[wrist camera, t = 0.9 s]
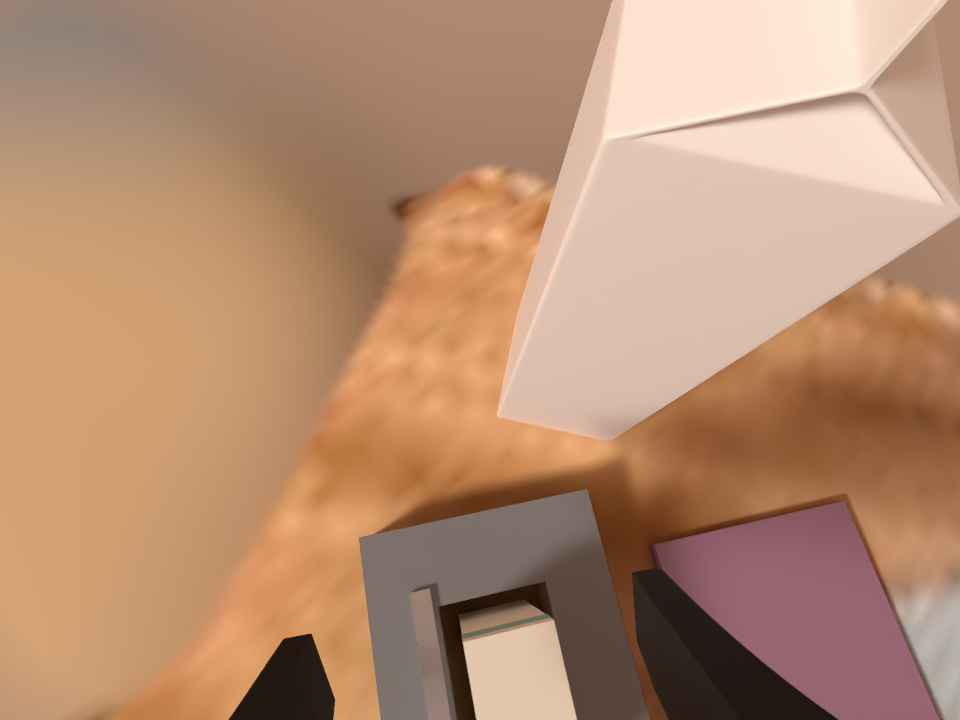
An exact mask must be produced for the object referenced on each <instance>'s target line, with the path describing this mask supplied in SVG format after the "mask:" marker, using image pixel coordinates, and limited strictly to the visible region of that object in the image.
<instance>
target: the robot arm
mask: <svg viewBox="0 0 960 720" xmlns="http://www.w3.org/2000/svg"><path fill="white" fill-rule="evenodd" d="M632 579H633V592H634V606H635V620H636V634H637V643H638V645H639V648H640V651H641V654H642V656H643V659H644V662H645V665H646V667H647V670H648V673H649V675H650V678H651V681H652V683H653V686H654V689H655V691H656V693H657V695H658V697H659V700H660V702H661V704H662V706H663V708H664V710H665V712H666V714H667V716H668V718H669V720H839V719H837V718H836V717H834V716H833V715H832V714H830V713H829V712H827V711H826V710H825V709H823V708H822V707H820V706H819V705H818V704H816V703H815V702H814V701H812V700H811V699H810V698H808V697H807V696H806V695H804V694H803V693H802V692H800V691H799V690H798V689H796V688H795V687H794V686H792V685H791V684H790V683H789V682H787V681H786V680H785V679H783V678H782V677H781V676H780V675H778V674H777V673H776V672H775V671H774V670H772V669H771V668H770V667H769V666H767V665H766V664H765V663H764V662H762V661H761V660H760V659H759V658H758V657H756V656H755V655H754V654H753V653H752V652H750V651H749V650H748V649H747V648H746V647H745V646H743V645H742V644H741V643H740V642H739V641H738V640H737V639H735V638H734V637H733V636H732V635H731V634H730V633H729V632H727V631H726V630H725V629H724V628H723V627H722V626H721V625H719V624H718V623H717V622H716V621H715V620H714V619H713V618H712V617H711V616H710V615H708V614H707V613H706V612H705V611H704V610H703V609H702V608H701V607H700V606H699V605H698V604H697V603H696V602H695V601H694V600H693V599H692V598H691V597H689V596H688V595H687V594H686V593H685V592H684V591H683V590H682V589H681V588H680V587H679V586H678V585H677V584H676V583H675V582H674V581H673V580H672V579H671V578H670V577H669V576H668V575H667V574H666V573H665V572H664V571H663V570H662V569H660V568H654V569H649V570H643V571H638V572H633V573H632ZM334 706H335V698H334V695H333V693H332V690H331V687H330V684H329V681H328V679H327V676H326V673H325V670H324V667H323V665H322V662H321V659H320V656H319V653H318V651H317V648H316V645H315V642H314V639H313V637H312V634H306V635H301V636H296V637H291V638H285V639H283V641H282V642H281V643H280V645H279V646H278V648H277V649H276V651H275V652H274V654H273V655H272V656H271V658H270V659H269V661H268V662H267V664H266V665H265V667H264V668H263V670H262V671H261V673H260V674H259V676H258V677H257V679H256V680H255V682H254V683H253V685H252V686H251V688H250V689H249V691H248V692H247V694H246V695H245V697H244V698H243V700H242V701H241V703H240V704H239V706H238V707H237V708H236V710H235V711H234V713H233V714H232V716H231V717H230V718H229V720H333V716H334Z"/></svg>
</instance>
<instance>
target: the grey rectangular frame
mask: <svg viewBox="0 0 960 720" xmlns="http://www.w3.org/2000/svg"><path fill="white" fill-rule="evenodd" d="M359 542H360V551H361V559H362V567H363V575H364V584H365V592H366V600H367V608H368V617H369V625H370V633H371V641H372V650H373V658H374V666H375V674H376V683H377V691H378V699H379V707H380V716H381V720H458V713H457V707H456V701H455V695H454V689H453V683H452V677H451V671H450V665H449V659H448V653H447V647H446V641H445V634H444V628H443V622H442V616H441V610H440V606H443V605H447V604H452V603H456V602H460V601H464V600H469V599H473V598H477V597H481V596H486V595H490V594H494V593H498V592H503V591H507V590H511V589H515V588H519V587H524V586H528V585H532V584H536V583H537V587H538V591H539V595H540V600H541V604H542V609H543V613H545V614H548V615H549V616H551V618H552V619H553V620H554V622H555V627H556V631H557V635H558V640H559V644H560V648H561V653H562V657H563V661H564V666H565V670H566V674H567V679H568V683H569V687H570V692H571V696H572V700H573V705H574V709H575V713H576V718H577V720H650V718H649V715H648V711H647V707H646V704H645V700H644V696H643V693H642V689H641V685H640V682H639V678H638V674H637V670H636V667H635V663H634V659H633V656H632V652H631V648H630V645H629V641H628V637H627V634H626V630H625V626H624V623H623V619H622V615H621V612H620V608H619V604H618V601H617V597H616V593H615V589H614V586H613V582H612V578H611V575H610V571H609V567H608V564H607V560H606V556H605V553H604V549H603V545H602V542H601V538H600V534H599V531H598V527H597V523H596V519H595V516H594V512H593V508H592V505H591V501H590V497H589V494H588V490H587V489H584V490H579V491H574V492H570V493H565V494H560V495H556V496H551V497H546V498H542V499H537V500H532V501H528V502H523V503H518V504H514V505H509V506H504V507H500V508H495V509H490V510H486V511H481V512H476V513H472V514H467V515H462V516H458V517H453V518H448V519H444V520H439V521H434V522H430V523H425V524H420V525H416V526H411V527H406V528H402V529H397V530H392V531H388V532H383V533H378V534H374V535H369V536H364V537H360V538H359Z"/></svg>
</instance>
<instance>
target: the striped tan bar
mask: <svg viewBox="0 0 960 720" xmlns="http://www.w3.org/2000/svg"><path fill="white" fill-rule="evenodd" d="M459 620H460V626H461V632H462V634H461V635H462V641H463V647H464V653H465V659H466V664H467V670H468V676H469V681H470V687H471V693H472V699H473V704H474V710H475V716H476V720H577V718H576V713H575V709H574V705H573V700H572V696H571V692H570V687H569V683H568V679H567V674H566V670H565V666H564V661H563V657H562V653H561V648H560V644H559V640H558V635H557V631H556V627H555V622H554V620H553V619H552V618H551V616H549V615H548V614H545V613H543V612H542V611H540V610H539V609H537V608H536V607H534V606H533V605H531V604H530V603H528V602H527V601H526V600H524V599H522V600H517V601H513V602H509V603H505V604H501V605H497V606H492V607H488V608H484V609H480V610H476V611H471V612H467V613H463V614H459Z"/></svg>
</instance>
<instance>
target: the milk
mask: <svg viewBox="0 0 960 720" xmlns="http://www.w3.org/2000/svg"><path fill="white" fill-rule="evenodd" d="M947 1H948V0H613V1H612V4H611V7H610V10H609V14H608V17H607V20H606V24H605V27H604V30H603V34H602V37H601V40H600V43H599V47H598V50H597V53H596V57H595V60H594V63H593V66H592V70H591V73H590V76H589V80H588V83H587V86H586V90H585V93H584V96H583V100H582V103H581V106H580V109H579V113H578V116H577V119H576V123H575V126H574V129H573V133H572V136H571V139H570V142H569V146H568V149H567V152H566V156H565V159H564V162H563V165H562V169H561V172H560V175H559V179H558V182H557V185H556V189H555V192H554V195H553V198H552V202H551V205H550V208H549V212H548V215H547V218H546V222H545V225H544V228H543V231H542V235H541V238H540V241H539V245H538V248H537V251H536V255H535V258H534V261H533V264H532V268H531V271H530V274H529V278H528V281H527V284H526V288H525V291H524V294H523V297H522V301H521V304H520V307H519V311H518V314H517V318H516V323H515V328H514V333H513V338H512V343H511V348H510V353H509V357H508V362H507V367H506V372H505V377H504V382H503V387H502V392H501V397H500V402H499V406H498V411H497V416H498V417H501V418H505V419H510V420H514V421H519V422H523V423H528V424H532V425H537V426H541V427H546V428H550V429H555V430H559V431H564V432H568V433H573V434H577V435H582V436H586V437H591V438H595V439H600V440H604V441H612V440H613V439H615V438H616V437H618V436H620V435H621V434H623V433H624V432H626V431H627V430H629V429H631V428H632V427H634V426H635V425H637V424H638V423H640V422H641V421H643V420H645V419H646V418H648V417H649V416H651V415H652V414H654V413H655V412H657V411H659V410H660V409H662V408H663V407H665V406H666V405H668V404H669V403H671V402H673V401H674V400H676V399H677V398H679V397H680V396H682V395H683V394H685V393H687V392H688V391H690V390H691V389H693V388H694V387H696V386H697V385H699V384H701V383H702V382H704V381H705V380H707V379H708V378H710V377H711V376H713V375H715V374H716V373H718V372H719V371H721V370H722V369H724V368H726V367H727V366H729V365H730V364H732V363H733V362H735V361H736V360H738V359H740V358H741V357H743V356H744V355H746V354H747V353H749V352H750V351H752V350H754V349H755V348H757V347H758V346H760V345H761V344H763V343H764V342H766V341H768V340H769V339H771V338H772V337H774V336H775V335H777V334H778V333H780V332H782V331H783V330H785V329H786V328H788V327H789V326H791V325H792V324H794V323H796V322H797V321H799V320H800V319H802V318H803V317H805V316H806V315H808V314H810V313H811V312H813V311H814V310H816V309H817V308H819V307H820V306H822V305H824V304H825V303H827V302H828V301H830V300H831V299H833V298H835V297H836V296H838V295H839V294H841V293H842V292H844V291H845V290H847V289H849V288H850V287H852V286H853V285H855V284H856V283H858V282H859V281H861V280H863V279H864V278H866V277H867V276H869V275H870V274H872V273H873V272H875V271H877V270H878V269H880V268H881V267H883V266H884V265H886V264H887V263H889V262H891V261H892V260H894V259H895V258H897V257H898V256H900V255H901V254H903V253H904V252H906V251H907V250H909V249H911V248H912V247H914V246H915V245H917V244H919V243H920V242H922V241H923V240H925V239H926V238H928V237H929V236H931V235H933V234H934V233H936V232H937V231H939V230H940V229H942V228H944V227H945V226H947V225H948V224H950V223H951V222H953V221H954V220H955V219H957V218H959V217H960V182H959V176H958V170H957V163H956V158H955V151H954V145H953V139H952V132H951V126H950V119H949V114H948V107H947V101H946V94H945V88H944V82H943V76H942V69H941V63H940V57H939V50H938V44H937V38H936V32H935V25H934V19H933V17H934V16H935V15H936V14H937V12H938V11H939V10H940V9H941V8H942V7H943V5H945V3H946V2H947Z"/></svg>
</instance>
